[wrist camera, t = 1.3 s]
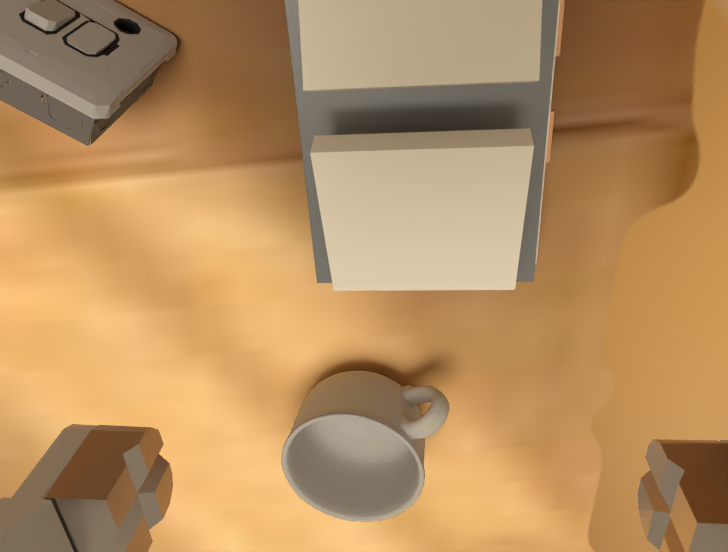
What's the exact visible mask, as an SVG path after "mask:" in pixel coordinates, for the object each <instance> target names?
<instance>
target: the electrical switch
mask: <svg viewBox="0 0 728 552" xmlns="http://www.w3.org/2000/svg"><path fill="white" fill-rule="evenodd" d="M176 47H177V38H176V37H175V36H174V35H173V34H172V33H170V32H168V31H167V30H165V29H163V28H161V27H160V26H158V25H156V24H154V23H153V22H151V21H149V20H147V19H146V18H144V17H142V16H140V15H139V14H137V13H135V12H133V11H132V10H130V9H128V8H126V7H125V6H123V5H121V4H119V3H118V2H116V1H114V0H0V100H1V101H3V102H5V103H7V104H9V105H11V106H13V107H15V108H17V109H18V110H20V111H22V112H24V113H26V114H28V115H30V116H32V117H34V118H36V119H37V120H39V121H41V122H43V123H45V124H47V125H49V126H51V127H53V128H55V129H57V130H58V131H60V132H62V133H64V134H66V135H68V136H70V137H72V138H74V139H76V140H77V141H79V142H81V143H83V144H85V145H87V146H88V145H89V143H90V137H91V144H92V143H93V142H94V141H95V140H96V139H97V138H98V137H99V136H100V135H102V134H103V133H104V132H105V131H106V130H107V129H108V128H109V127H110V126H111V125H112V124H113V123H114V122H115V121H116V120H117V119H118V118H119V117H120V116H121V115H122V114H123V113H124V112H125V111H126V110H127V109H128V108H129V107H130V106H131V105H132V104H133V103H134V102H135V101H136V100H137V99H138V98H139V97H140V96H141V95H142V94H143V93H144V92H145V91H146V90H147V89H148V88H149V87H151V86H152V84H153V80H154V75H155V73H156V72H157V69H158V66H159V65H160V64H161V63H163V62H164V61H166V62H167V61H168V60H170V59H171V58H172V57H173V56H174V55H175V53H176ZM1 70H2V71H3V72H2V71H1ZM10 81H11V84H10ZM49 95H50V96H49ZM42 97H43V103H42V100H41V98H42ZM70 130H71V131H70ZM91 131H92V132H91ZM91 144H90V145H91Z"/></svg>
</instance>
